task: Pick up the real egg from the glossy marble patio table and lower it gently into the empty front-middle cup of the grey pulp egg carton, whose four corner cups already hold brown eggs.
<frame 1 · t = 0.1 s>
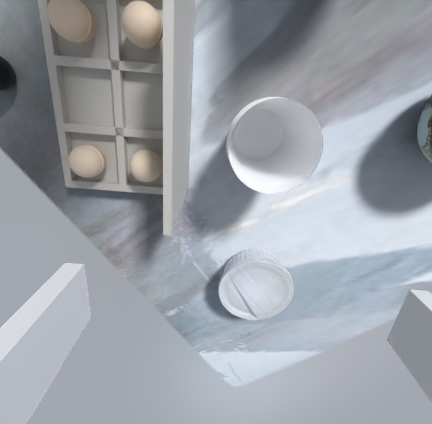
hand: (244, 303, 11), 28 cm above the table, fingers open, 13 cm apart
cup: (258, 135, 35), on the table
ramekin: (251, 270, 44), on the table
egg: (5, 73, 33), on the table
carton: (123, 100, 34), on the table
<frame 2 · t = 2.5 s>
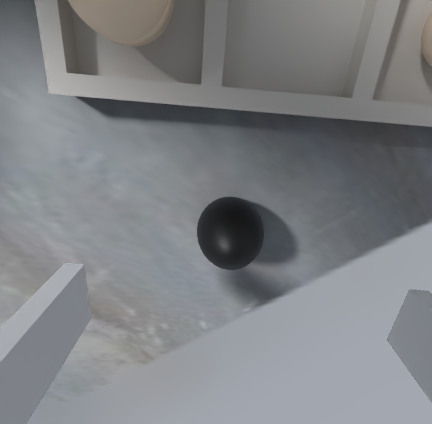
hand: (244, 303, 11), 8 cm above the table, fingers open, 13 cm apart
egg: (228, 216, 18), on the table
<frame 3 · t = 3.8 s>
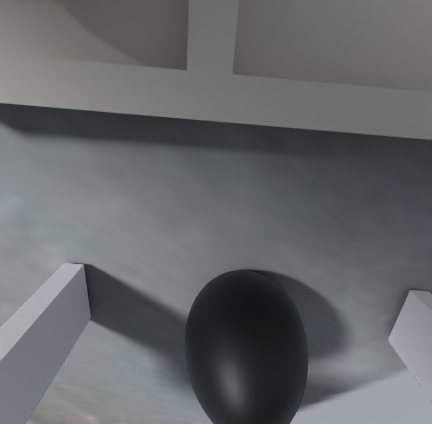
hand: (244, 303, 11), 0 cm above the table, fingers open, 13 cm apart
egg: (239, 294, 11), on the table
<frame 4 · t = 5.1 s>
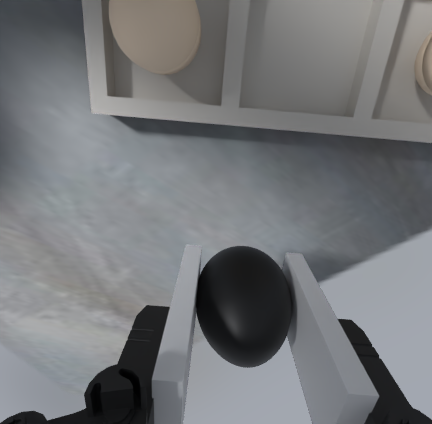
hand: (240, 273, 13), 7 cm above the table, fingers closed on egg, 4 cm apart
egg: (239, 268, 13), point 7 cm above the table, touching gripper
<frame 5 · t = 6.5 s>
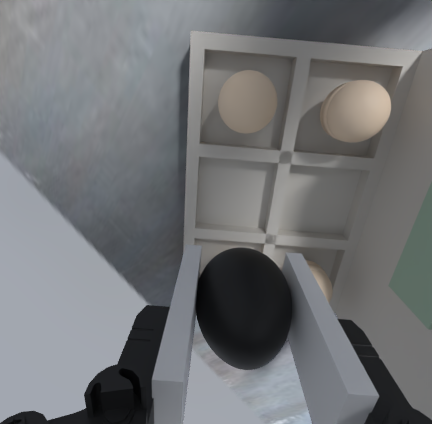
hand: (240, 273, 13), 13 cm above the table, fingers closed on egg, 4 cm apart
egg: (239, 269, 13), point 12 cm above the table, touching gripper
carton: (273, 192, 24), on the table
when the fingers open (3 cm above the table, at t = 7.8 s): egg drops 1 cm, resting on carton.
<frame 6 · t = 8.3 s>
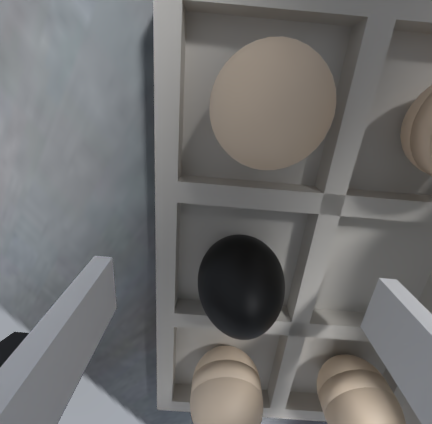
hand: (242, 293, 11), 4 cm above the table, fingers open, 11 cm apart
egg: (237, 255, 14), point 1 cm above the table, touching carton
carton: (301, 251, 15), on the table
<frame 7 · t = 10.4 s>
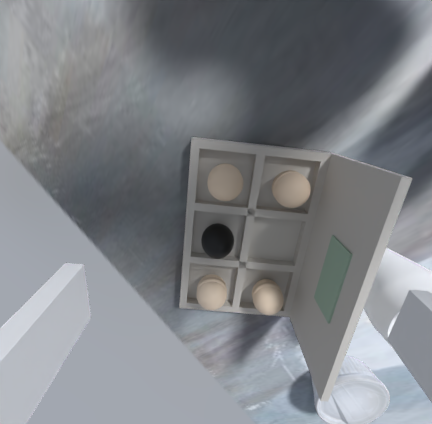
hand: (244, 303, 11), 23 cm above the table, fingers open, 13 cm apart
cup: (365, 262, 37), on the table
ramekin: (337, 372, 45), on the table
egg: (217, 233, 34), point 1 cm above the table, touching carton
carton: (244, 232, 35), on the table
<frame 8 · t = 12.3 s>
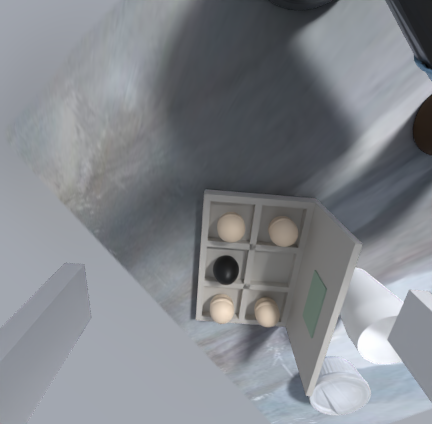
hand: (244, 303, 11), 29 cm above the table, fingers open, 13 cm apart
cup: (348, 282, 45), on the table
ramekin: (328, 369, 54), on the table
egg: (225, 261, 43), point 1 cm above the table, touching carton
carton: (248, 260, 43), on the table
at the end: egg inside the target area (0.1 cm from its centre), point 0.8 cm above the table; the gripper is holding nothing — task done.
